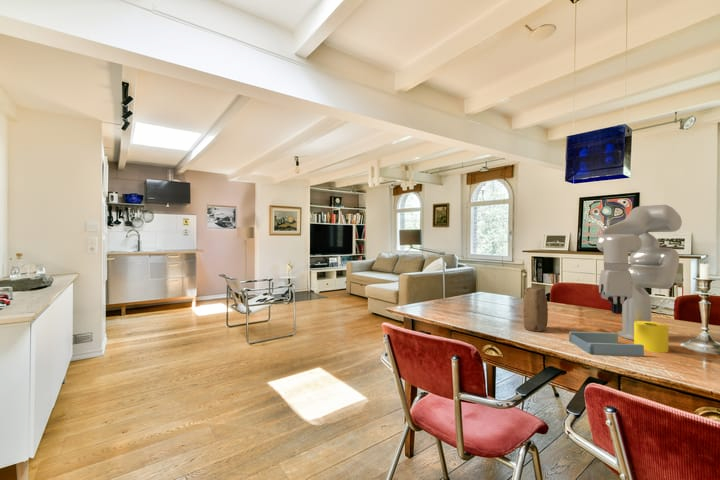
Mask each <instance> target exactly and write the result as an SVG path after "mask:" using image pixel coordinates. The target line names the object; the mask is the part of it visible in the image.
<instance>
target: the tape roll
mask: <svg viewBox="0 0 720 480" xmlns="http://www.w3.org/2000/svg"><path fill="white" fill-rule="evenodd" d="M633 344H642V345H644V351H646V352H652V353H659V354H660V353H661V354H664V353H668V352H669V325H667V324H663V323H659V322H655V321H651V322H649V321H635V322H634V340H633Z"/></svg>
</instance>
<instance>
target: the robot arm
mask: <svg viewBox="0 0 720 480" xmlns="http://www.w3.org/2000/svg"><path fill="white" fill-rule="evenodd" d="M682 221H683V220H682V218H681V215H680V213H678V212H677V211H676V210H675V208H673V207H672V206H670V205H667V204H654V205H653V204H652V205H641V206H639V205H638V206H636V207H634V208H633V209H631V210H630V212H629V213H628V215H626V217H625V219H624V220H621V221H619V222H616V223H614V224H612V225H609V226H607V227H605V228H604V229H603V230H602V231H601V232H600V234H598V237H597V238H596V245H595V246H596V248H597V249H598V251H600V252H602V253H603V269H601V272H600V275H599V281H598V282H599V283H598V293H599V294H600V299H603V300H608V302H609V303H610V306H611V307H610V308H611V309H610V311H611V313H612V314H615V315H622V319H621V320H622V323H621V324H622V329H621V330H619V331H618V330H617V334H618V337H622V338H624V339H627V340H631V341H634V322H635V321H649V322H652V297H651V295H650V294H649V293H648V291H647V290H646V289H647V288H649V289H656V290H657V289H658V290H669V289H671V288H672V287H673V285H674V284H675V281H676V276H677V273H678V269H679V265H680V255H679V252H678V251H677V250H676V249H674V248H671V247H660V246H661V243H660V241H659V240H658V239H657V238H656V237H655V236H654V235H653V234H652V233H672V232H673V233H675V232H677V231H679V230H681V228H682V227H681V226H682V225H683V222H682ZM650 233H651V234H650ZM629 254H630V255H629ZM629 256H630V257H629ZM645 288H646V289H645Z"/></svg>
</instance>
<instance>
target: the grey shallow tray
mask: <svg viewBox="0 0 720 480" xmlns="http://www.w3.org/2000/svg"><path fill="white" fill-rule="evenodd" d="M568 334H569V335H568V338H569V339H568V340H569V342H570V343H572V344H574V345H575V346H576V347H578V348H580V349H582V350H583V351H585V352H586V353H587V354H590V355H597V356H599V355H602V356H624V357H625V356H628V357H629V356H630V357H644V355H645V353H644V351H645V350H644V345H642V344H634V343H619V335H618V332H600V331H598V332H597V331H596V332H594V331H593V332H592V331H569V333H568Z"/></svg>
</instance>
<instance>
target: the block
mask: <svg viewBox="0 0 720 480" xmlns="http://www.w3.org/2000/svg"><path fill="white" fill-rule="evenodd" d="M522 304H523V306H522V307H523V309H522V310H523V312H522V313H523V317H522V318H523V327H524V329H525V330H528V331H530V332H534V333H535V332H536V333H537V332H538V333H540V332H543V331H544V330H546V328H547V326H548V319H549V318H548V317H549V316H548V315H549V314H548V313H549V312H548V311H549V309H548V306H549V305H548V299H547V295H546V289H545V288H544V287H540V286H539V287H538V286H532V287H527V288H525V289H524V296H523V303H522Z"/></svg>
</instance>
